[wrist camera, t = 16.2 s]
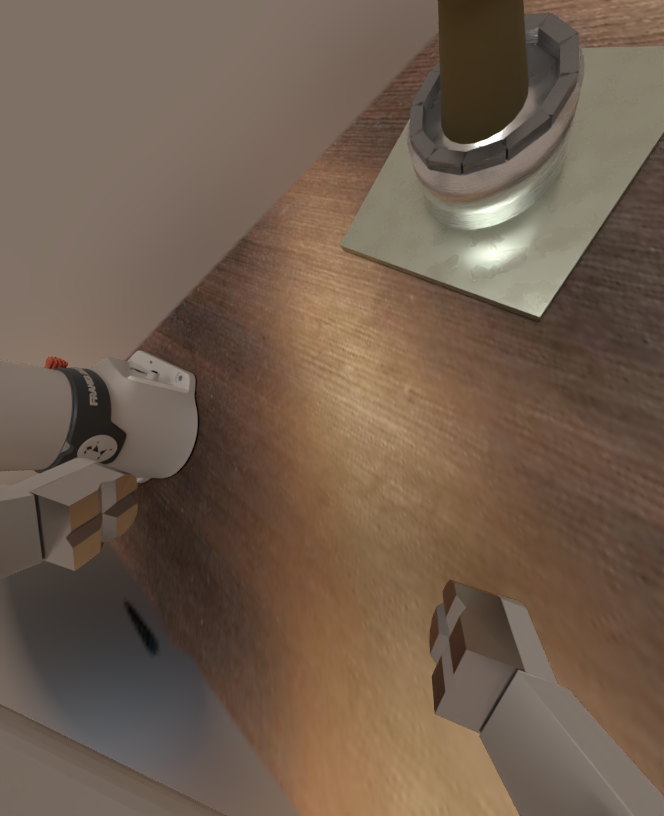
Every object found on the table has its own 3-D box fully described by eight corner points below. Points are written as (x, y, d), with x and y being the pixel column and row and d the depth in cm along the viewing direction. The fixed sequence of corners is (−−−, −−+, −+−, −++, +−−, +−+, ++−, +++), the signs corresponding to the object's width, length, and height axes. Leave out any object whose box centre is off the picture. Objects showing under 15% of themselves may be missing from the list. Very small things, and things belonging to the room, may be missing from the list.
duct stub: (343, 250, 37) (307, 201, 30) (448, 61, 34) (435, -43, 27) (538, 321, 26) (552, 273, 19) (713, 60, 24) (804, -108, 17)
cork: (429, 111, 26) (388, -91, 16) (505, 50, 24) (509, -226, 14) (460, 160, 24) (435, -35, 15) (545, 99, 22) (582, -179, 12)
